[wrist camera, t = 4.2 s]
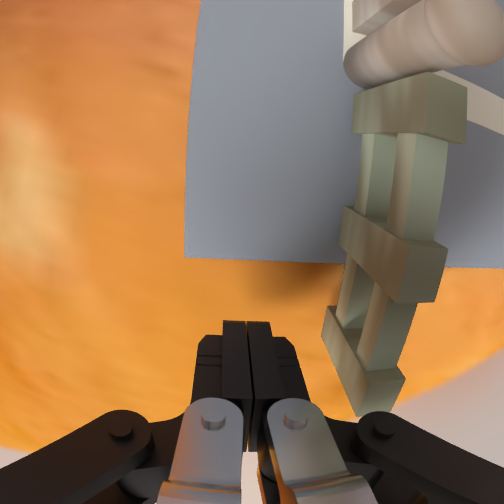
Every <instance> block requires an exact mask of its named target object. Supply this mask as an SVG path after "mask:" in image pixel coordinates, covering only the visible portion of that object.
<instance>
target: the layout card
mask: <svg viewBox="0 0 504 504" xmlns="http://www.w3.org/2000/svg"><path fill="white" fill-rule="evenodd" d="M353 1H354V0H201V5H200V12H199V19H198V27H197V36H196V44H195V53H194V63H193V73H192V84H191V96H190V110H189V124H188V141H187V161H186V187H185V257H188V258H211V259H234V260H258V261H283V262H308V263H335V264H345V263H346V258H347V252H346V251H345V250H344V249H343V248H342V247H341V246H340V245H339V244H338V240H339V234H340V227H341V220H342V212H343V205H347V206H355V198H356V191H357V182H358V174H359V164H360V155H361V144H362V135H356V134H351V128H352V114H353V98H354V94H357V93H360V92H363V91H366V90H369V89H364V88H361V87H359V86H357V85H356V84H354V83H353V82H352V81H351V80H350V79H349V77H348V76H347V74H346V72H345V70H344V66H343V61H344V56H345V53H346V52H347V50H348V49H349V48H350V47H352V46H353V45H355V44H356V43H357V42H359V41H360V40H362V39H363V38H364V37H366V35H362V34H359V33H355V32H352V2H353ZM495 1H496V2H497V3H498V5H499V6H500V7H501V9H502V10H503V12H504V0H495ZM433 74H436V75H439V76H441V77H444V78H446V79H449V80H451V81H453V82H456V83H458V84H460V85H463V86H465V87H467V125H466V141H465V144H456V143H448V152H447V162H446V171H445V179H444V186H443V193H442V199H441V205H440V211H439V217H438V222H437V227H436V232H435V237H434V241H436V242H438V243H439V244H441V245H443V246H444V247H446V248H448V249H449V250H448V254H447V258H446V262H445V266H444V267H461V268H500V269H504V55H503V56H502V57H501V58H500V59H499V60H498V61H496V62H494V63H492V64H490V65H486V66H470V65H463V66H459V67H454V68H450V69H446V70H441V71H437V72H433Z"/></svg>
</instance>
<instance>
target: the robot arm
mask: <svg viewBox="0 0 504 504" xmlns="http://www.w3.org/2000/svg"><path fill="white" fill-rule="evenodd" d="M247 441H248V451H249V452H257V453H258V462H259V463H258V468H257V477H258V482H259V487H260V492H261V496H262V502H263V504H504V468H503V467H501V466H498V465H496V464H494V463H491V462H489V461H487V460H485V459H483V458H480V457H478V456H476V455H474V454H472V453H470V452H467V451H465V450H463V449H461V448H459V447H457V446H455V445H453V444H451V443H449V442H447V441H445V440H443V439H440V438H439V437H437V436H435V435H433V434H430V433H429V432H427V431H425V430H423V429H421V428H419V427H417V426H415V425H413V424H411V423H410V422H408V421H406V420H404V419H402V418H400V417H398V416H396V415H394V414H392V413H389V412H385V411H374V412H370V413H367V414H366V415H364V416H363V417H362V418H361V419H360V420H359V422H358V423H353V422H346V421H339V420H334V419H331V418H328V417H326V416H324V415H323V413H322V411H321V410H320V408H319V407H317V406H316V405H315V404H313V403H312V402H311V401H310V398H309V395H308V391H307V388H306V385H305V381H304V378H303V375H302V371H301V368H300V365H299V361H298V359H297V355H296V351H295V348H294V346H293V345H292V344H291V343H290V342H289V341H288V340H287V339H286V338H285V337H273V336H272V331H271V327H270V323H269V322H258V321H247V323H245V321H228V320H223V335H205V337H204V338H203V339H202V340H201V341H200V342H199V344H198V350H197V358H196V366H195V374H194V382H193V390H192V398H191V403H190V405H189V406H188V407H187V409H186V410H185V412H184V413H183V414H181V415H180V416H178V417H176V418H173V419H170V420H166V421H160V422H153V423H148V421H147V420H146V419H145V418H144V417H143V416H141V415H140V414H138V413H136V412H133V411H129V410H115V411H111V412H108V413H106V414H104V415H102V416H100V417H98V418H97V419H95V420H93V421H91V422H90V423H88V424H86V425H84V426H82V427H81V428H79V429H77V430H75V431H73V432H72V433H70V434H68V435H66V436H64V437H62V438H60V439H59V440H57V441H55V442H53V443H51V444H49V445H47V446H45V447H43V448H41V449H39V450H38V451H36V452H34V453H32V454H30V455H28V456H26V457H24V458H22V459H20V460H18V461H16V462H14V463H11V464H10V465H8V466H5V467H3V468H1V469H0V504H155V503H156V502H157V504H241V465H242V455H243V452H246V449H247Z"/></svg>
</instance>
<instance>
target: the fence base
mask: <svg viewBox="0 0 504 504" xmlns="http://www.w3.org/2000/svg"><path fill="white" fill-rule="evenodd" d="M352 32H355V33H359V34H362V35H366V37H364V38H363V39H362V40H360V41H359V42H357V43H356V44H355V45H353V46H352V47H350V48H349V49H348V50H347V52H346V53H345V56H344V61H343V66H344V70H345V72H346V74H347V76H348V77H349V79H350V80H351V81H352V82H353V83H354V84H356V85H357V86H359V87H361V88H364V89H372V88H375V87H378V86H381V85H384V84H387V83H390V82H394V81H397V80H400V79H404V78H407V77H411V76H414V75H418V74H421V73H425V72H431V73H433V72H437V71H441V70H446V69H450V68H454V67H459V66H463V65H470V66H486V65H490V64H492V63H494V62H496V61H498V60H499V59H500V58H501V57H502V56H503V55H504V12H503V10H502V9H501V7H500V6H499V5H498V3H497V2H496V1H495V0H354V1H353V2H352Z"/></svg>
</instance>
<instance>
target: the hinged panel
mask: <svg viewBox="0 0 504 504" xmlns="http://www.w3.org/2000/svg"><path fill="white" fill-rule="evenodd" d="M466 125H467V87H465V86H463V85H460V84H458V83H456V82H453V81H451V80H449V79H446V78H444V77H441V76H439V75H436V74H433V73H431V72H425V73H421V74H418V75H414V76H411V77H407V78H404V79H400V80H397V81H394V82H390V83H387V84H384V85H381V86H378V87H375V88H372V89H369V90H366V91H363V92H360V93H357V94H354V98H353V114H352V128H351V134H356V135H362V144H361V155H360V164H359V174H358V182H357V191H356V198H355V206H347V205H343V212H342V220H341V227H340V234H339V240H338V244H339V245H340V246H341V247H342V248H343V249H344V250H345V251H346V252H347V258H346V263H345V269H344V275H343V280H342V285H341V290H340V295H339V300H338V305H337V306H327V309H326V314H325V319H324V324H323V329H322V334H321V337H322V339H323V342H324V344H325V346H326V348H327V351H328V353H329V355H330V357H331V360H332V362H333V364H334V366H335V369H336V371H337V373H338V376H339V378H340V380H341V383H342V385H343V387H344V389H345V392H346V394H347V396H348V399H349V401H350V403H351V406H352V408H353V411H354V413H355V415H356V417H360V416H364V415H366V414H367V413H370V412H374V411H385V412H390V411H391V409H392V407H393V405H394V403H395V401H396V399H397V397H398V395H399V393H400V391H401V388H402V386H403V384H404V382H405V377H404V376H403V374H402V372H401V371H400V369H399V368H398V367H397V363H398V360H399V357H400V355H401V352H402V349H403V346H404V344H405V341H406V338H407V335H408V332H409V329H410V326H411V323H412V320H413V317H414V314H415V311H416V307H417V304H418V303H426V302H434V301H435V298H436V295H437V292H438V288H439V285H440V281H441V278H442V274H443V270H444V266H445V262H446V258H447V254H448V250H449V249H448V248H446V247H444V246H443V245H441V244H439V243H438V242H436V241H434V237H435V232H436V227H437V222H438V217H439V211H440V205H441V199H442V193H443V186H444V179H445V171H446V162H447V152H448V143H456V144H465V141H466Z"/></svg>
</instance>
